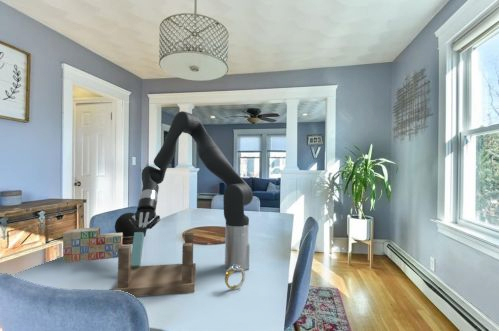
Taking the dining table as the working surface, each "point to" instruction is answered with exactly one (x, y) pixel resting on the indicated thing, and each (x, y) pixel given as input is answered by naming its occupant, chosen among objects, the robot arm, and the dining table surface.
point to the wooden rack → (157, 274)
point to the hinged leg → (137, 249)
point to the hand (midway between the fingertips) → (141, 237)
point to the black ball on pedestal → (126, 228)
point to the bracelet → (234, 267)
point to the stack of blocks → (90, 244)
